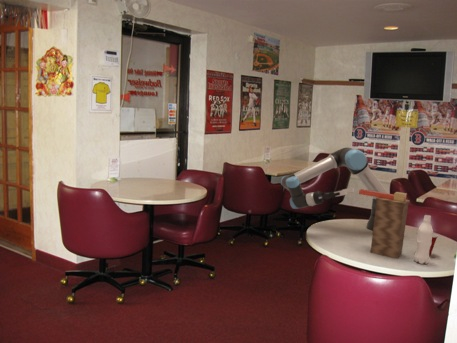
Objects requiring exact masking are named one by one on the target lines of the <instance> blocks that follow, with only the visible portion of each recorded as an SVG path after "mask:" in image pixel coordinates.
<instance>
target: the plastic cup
mask: <svg viewBox="0 0 457 343" xmlns="http://www.w3.org/2000/svg"><path fill="white" fill-rule="evenodd" d="M416 234H417V236H418V231H417V232H416ZM438 237H439V235H438V234H435V233H433V235H432V244H431V246H430V250H429V257H431V256H432V252H433V249H434V246H435V244H436V241H437V239H438Z"/></svg>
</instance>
